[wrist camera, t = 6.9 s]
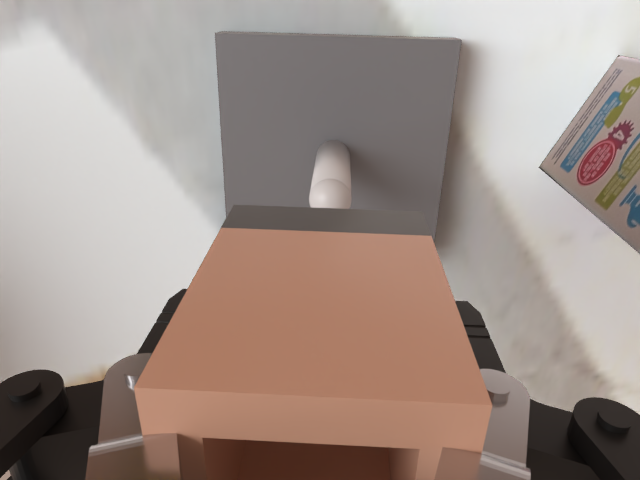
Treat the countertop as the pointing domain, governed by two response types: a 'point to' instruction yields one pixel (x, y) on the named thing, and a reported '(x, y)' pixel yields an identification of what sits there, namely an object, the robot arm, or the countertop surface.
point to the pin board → (335, 120)
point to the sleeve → (316, 352)
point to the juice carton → (605, 152)
